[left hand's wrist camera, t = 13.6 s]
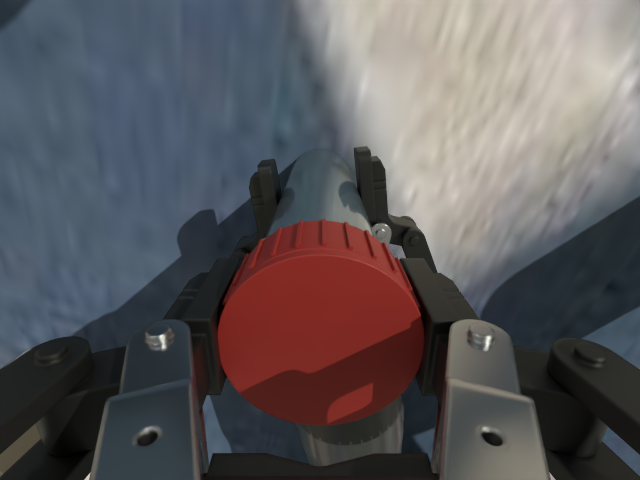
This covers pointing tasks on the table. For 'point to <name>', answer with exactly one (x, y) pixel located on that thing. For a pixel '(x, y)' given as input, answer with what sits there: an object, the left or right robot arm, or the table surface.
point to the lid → (320, 325)
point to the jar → (320, 193)
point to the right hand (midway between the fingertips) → (314, 156)
